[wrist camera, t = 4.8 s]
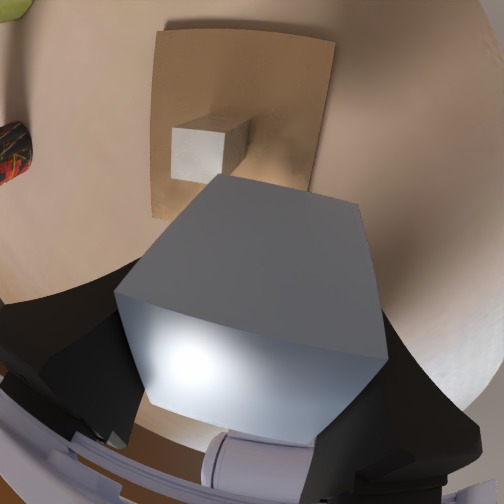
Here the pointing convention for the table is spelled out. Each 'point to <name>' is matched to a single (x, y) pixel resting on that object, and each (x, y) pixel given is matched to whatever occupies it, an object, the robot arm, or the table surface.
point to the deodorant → (14, 151)
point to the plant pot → (13, 9)
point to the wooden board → (233, 110)
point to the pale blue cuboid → (256, 310)
